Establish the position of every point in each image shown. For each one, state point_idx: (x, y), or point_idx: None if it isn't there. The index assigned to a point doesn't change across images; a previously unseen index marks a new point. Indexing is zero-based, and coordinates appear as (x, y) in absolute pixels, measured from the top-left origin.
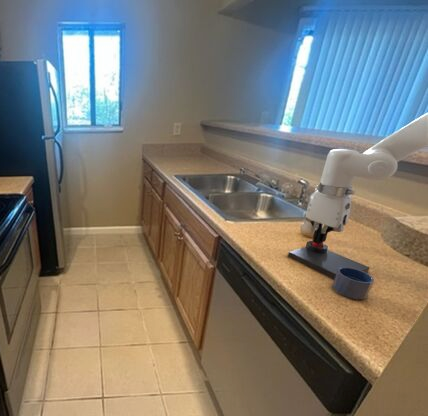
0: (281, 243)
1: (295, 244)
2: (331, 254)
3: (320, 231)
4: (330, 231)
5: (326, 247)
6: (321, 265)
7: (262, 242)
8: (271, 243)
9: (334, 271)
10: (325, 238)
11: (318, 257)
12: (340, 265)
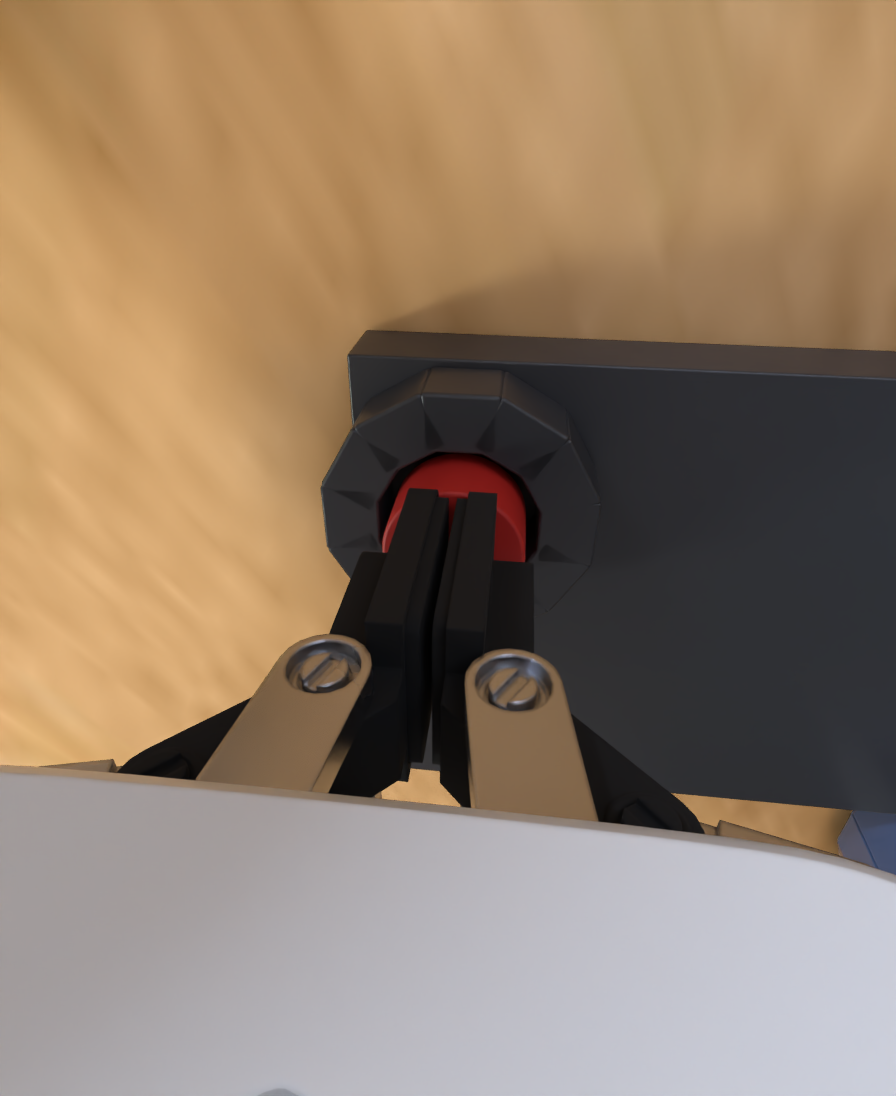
0: (137, 532)
1: (196, 410)
2: (665, 472)
3: (413, 704)
4: (595, 752)
5: (578, 495)
6: (694, 774)
7: (83, 664)
8: (118, 616)
9: (819, 784)
10: (531, 595)
11: (601, 662)
12: (836, 646)
